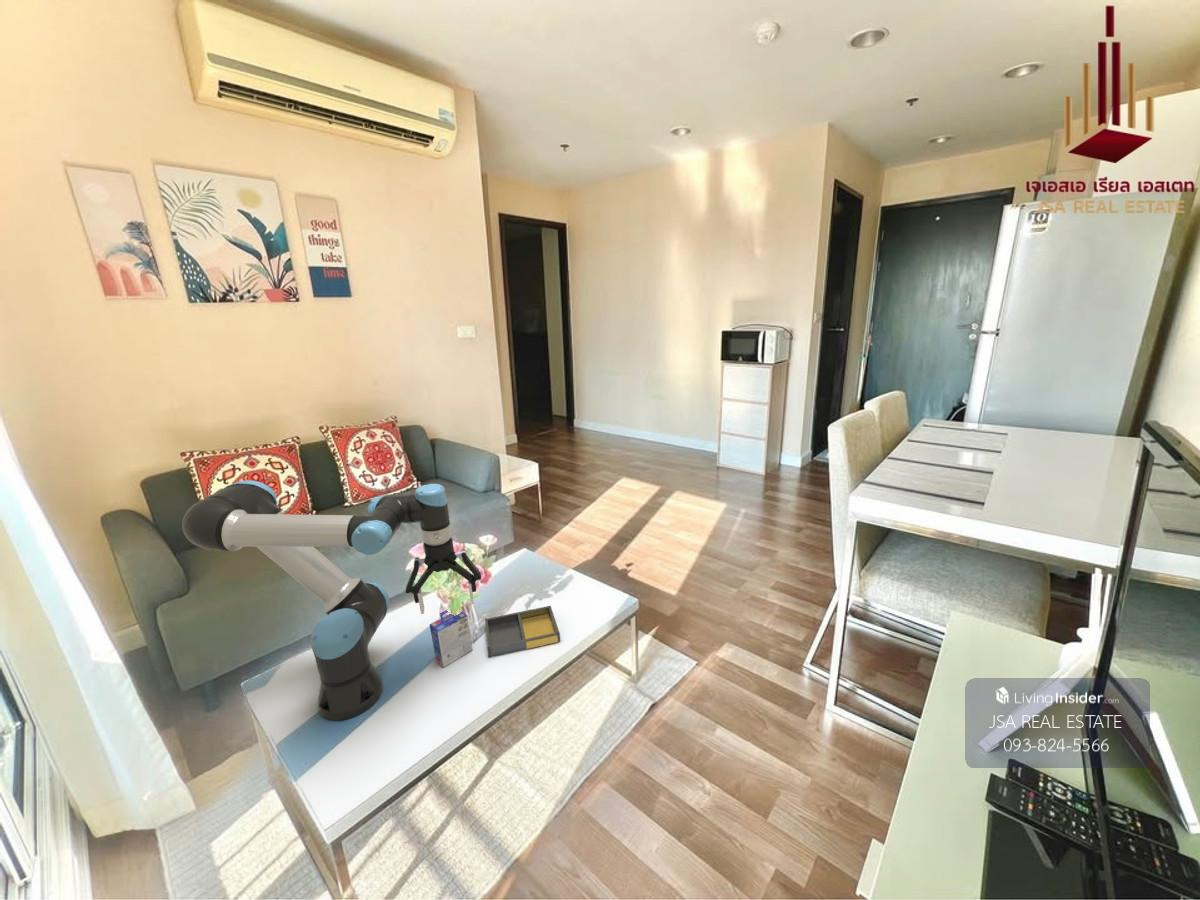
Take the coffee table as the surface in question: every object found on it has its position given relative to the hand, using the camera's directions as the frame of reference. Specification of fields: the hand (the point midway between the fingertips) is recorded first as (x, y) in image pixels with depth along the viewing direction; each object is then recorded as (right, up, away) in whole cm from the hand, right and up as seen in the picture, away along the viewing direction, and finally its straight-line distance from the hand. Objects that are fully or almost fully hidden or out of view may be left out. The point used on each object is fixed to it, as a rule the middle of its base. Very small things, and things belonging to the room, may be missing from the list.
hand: (447, 606), depth 133 cm
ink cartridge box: (0, -16, +5) cm, 17 cm away
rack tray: (+19, -13, +13) cm, 26 cm away
